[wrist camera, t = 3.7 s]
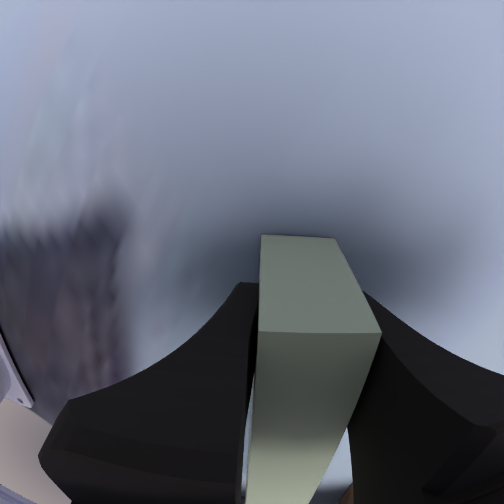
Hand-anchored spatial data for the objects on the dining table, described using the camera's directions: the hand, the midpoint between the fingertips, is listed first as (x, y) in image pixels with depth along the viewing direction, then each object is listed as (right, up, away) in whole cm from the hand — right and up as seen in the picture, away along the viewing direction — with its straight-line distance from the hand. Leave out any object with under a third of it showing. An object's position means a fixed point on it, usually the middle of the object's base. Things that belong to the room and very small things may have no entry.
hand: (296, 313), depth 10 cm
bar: (0, -5, +4) cm, 6 cm away
